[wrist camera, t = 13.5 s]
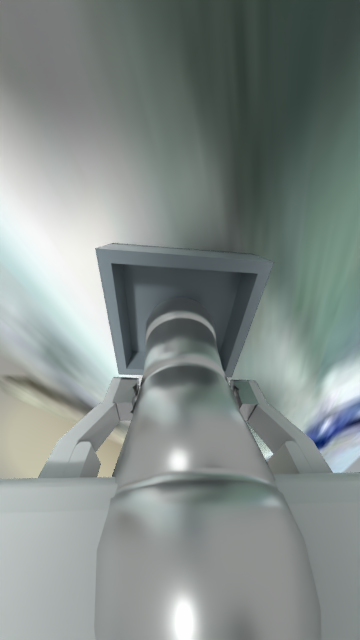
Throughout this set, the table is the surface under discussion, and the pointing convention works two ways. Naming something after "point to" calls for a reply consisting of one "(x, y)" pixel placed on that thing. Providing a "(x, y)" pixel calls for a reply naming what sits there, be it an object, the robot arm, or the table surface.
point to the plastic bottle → (197, 509)
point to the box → (179, 294)
